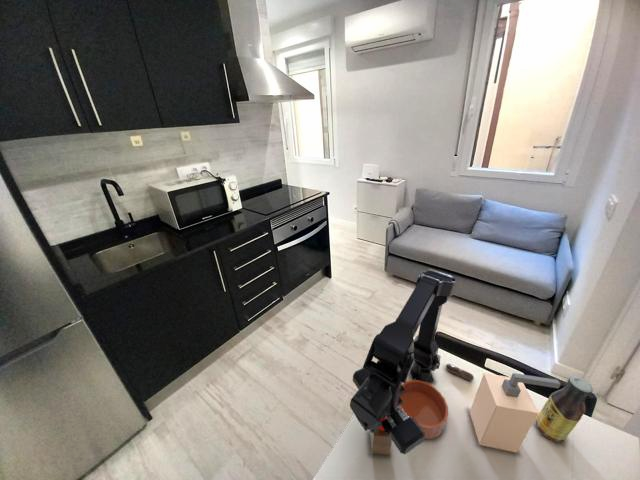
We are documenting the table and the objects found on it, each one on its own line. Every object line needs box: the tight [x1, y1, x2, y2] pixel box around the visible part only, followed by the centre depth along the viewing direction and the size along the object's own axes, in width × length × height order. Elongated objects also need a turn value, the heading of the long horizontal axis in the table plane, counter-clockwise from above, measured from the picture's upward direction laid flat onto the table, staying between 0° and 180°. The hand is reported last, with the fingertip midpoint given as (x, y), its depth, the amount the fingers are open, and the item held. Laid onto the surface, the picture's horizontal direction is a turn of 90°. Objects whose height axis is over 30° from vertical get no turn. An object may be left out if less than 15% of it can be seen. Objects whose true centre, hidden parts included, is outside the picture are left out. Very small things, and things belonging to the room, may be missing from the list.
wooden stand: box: [369, 429, 393, 456], centre depth 65 cm, size 4×4×8 cm
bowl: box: [398, 379, 449, 440], centre depth 72 cm, size 13×13×5 cm
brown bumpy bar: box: [445, 363, 475, 382], centre depth 83 cm, size 8×2×2 cm, turn 54°
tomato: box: [378, 417, 387, 431], centre depth 62 cm, size 3×3×3 cm
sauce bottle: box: [535, 375, 594, 443], centre depth 64 cm, size 7×6×20 cm
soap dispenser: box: [469, 372, 562, 454], centre depth 64 cm, size 13×9×22 cm
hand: (382, 424), depth 63 cm, fingers closed on tomato, 3 cm apart
